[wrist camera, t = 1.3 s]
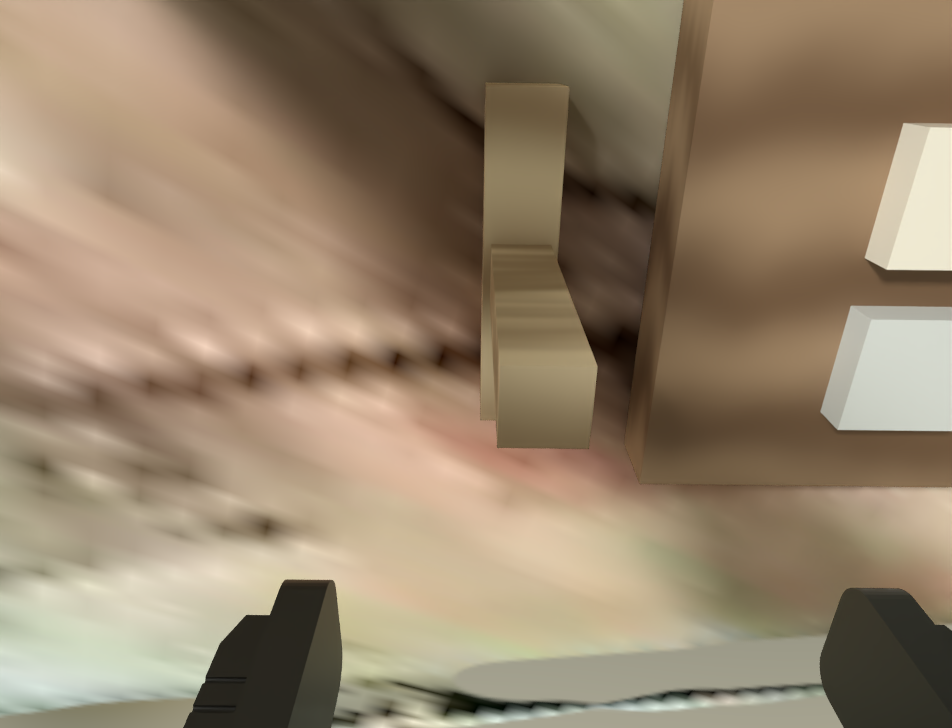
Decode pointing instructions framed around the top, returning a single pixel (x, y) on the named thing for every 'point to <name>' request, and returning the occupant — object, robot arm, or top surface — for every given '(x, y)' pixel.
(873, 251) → the cream tile
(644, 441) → the walnut plate
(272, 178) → the top surface
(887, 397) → the grey tile
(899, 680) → the robot arm
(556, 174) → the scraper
